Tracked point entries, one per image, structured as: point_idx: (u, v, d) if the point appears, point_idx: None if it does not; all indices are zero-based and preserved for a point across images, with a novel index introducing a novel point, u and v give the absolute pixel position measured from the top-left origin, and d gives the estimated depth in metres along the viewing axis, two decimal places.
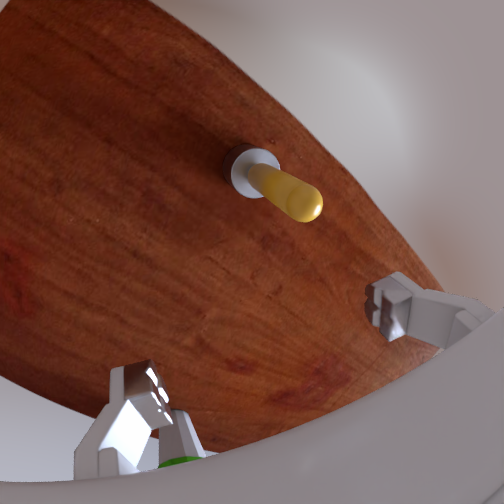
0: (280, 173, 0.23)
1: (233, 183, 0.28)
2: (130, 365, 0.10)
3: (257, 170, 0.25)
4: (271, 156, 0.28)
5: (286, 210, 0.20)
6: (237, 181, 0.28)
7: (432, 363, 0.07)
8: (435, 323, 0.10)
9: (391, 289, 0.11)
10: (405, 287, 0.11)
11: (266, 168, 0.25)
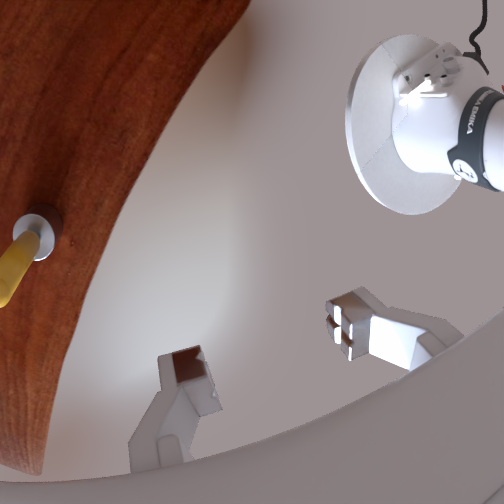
0: (22, 261, 0.20)
1: (19, 219, 0.24)
2: (178, 351, 0.10)
3: (27, 238, 0.22)
4: (51, 247, 0.26)
5: None
6: (21, 222, 0.24)
7: (432, 363, 0.07)
8: (398, 344, 0.09)
9: (351, 306, 0.10)
10: (367, 304, 0.10)
11: (29, 246, 0.22)
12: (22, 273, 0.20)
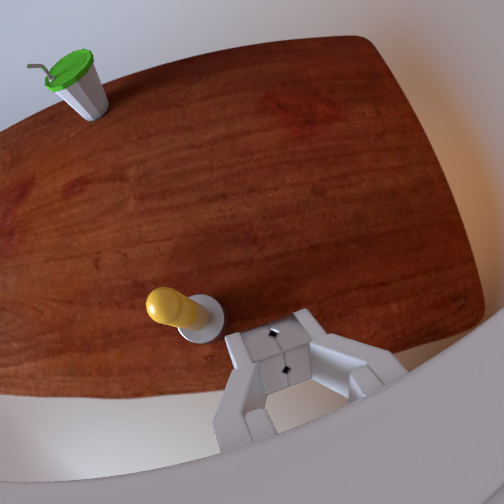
0: (193, 320, 0.23)
1: (207, 296, 0.30)
2: (246, 330, 0.10)
3: (205, 313, 0.27)
4: (202, 340, 0.29)
5: (171, 288, 0.21)
6: (206, 300, 0.30)
7: (432, 363, 0.07)
8: (338, 373, 0.09)
9: (288, 331, 0.10)
10: (305, 330, 0.10)
11: (202, 320, 0.26)
12: (184, 325, 0.23)
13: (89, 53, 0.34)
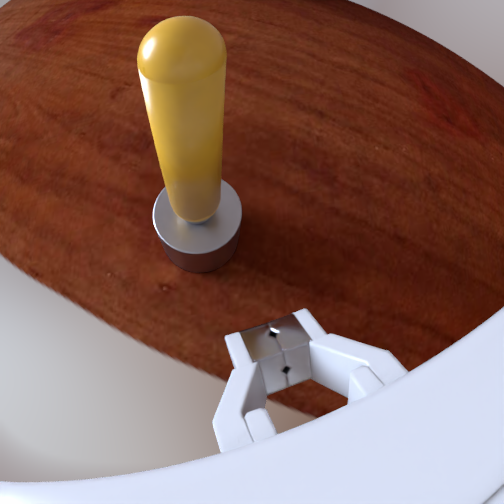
0: (200, 160, 0.10)
1: (231, 189, 0.17)
2: (246, 330, 0.10)
3: (217, 192, 0.14)
4: (176, 244, 0.16)
5: None
6: (226, 192, 0.17)
7: (432, 363, 0.07)
8: (338, 373, 0.09)
9: (288, 331, 0.10)
10: (305, 330, 0.10)
11: (207, 192, 0.13)
12: (177, 152, 0.10)
13: None
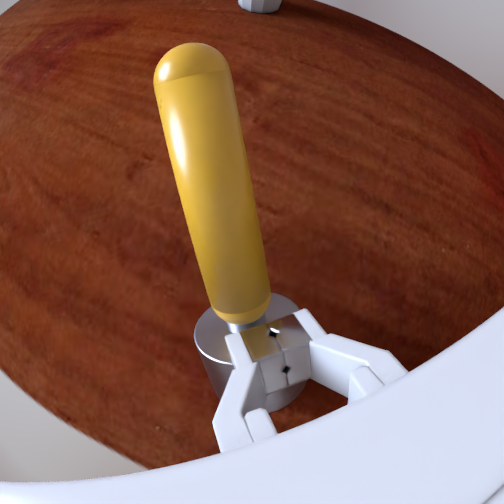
0: (226, 190, 0.09)
1: (287, 299, 0.14)
2: (246, 330, 0.10)
3: (262, 267, 0.11)
4: (221, 357, 0.12)
5: None
6: (281, 302, 0.14)
7: (432, 363, 0.07)
8: (338, 373, 0.09)
9: (288, 331, 0.10)
10: (305, 329, 0.10)
11: (246, 255, 0.11)
12: (197, 177, 0.09)
13: None
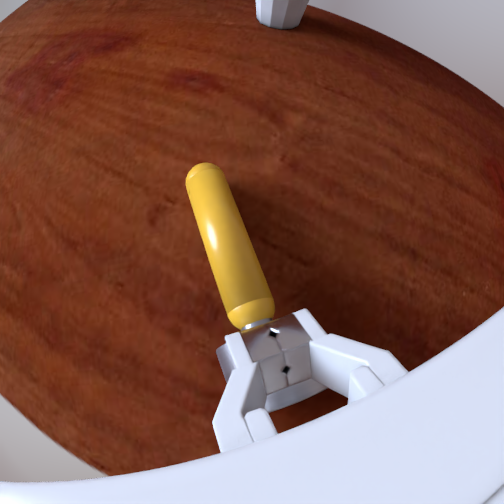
0: (224, 220, 0.17)
1: None
2: (246, 330, 0.10)
3: (258, 272, 0.16)
4: None
5: None
6: None
7: (432, 363, 0.07)
8: (338, 373, 0.09)
9: (288, 331, 0.10)
10: (305, 330, 0.10)
11: (243, 258, 0.16)
12: (208, 216, 0.17)
13: None
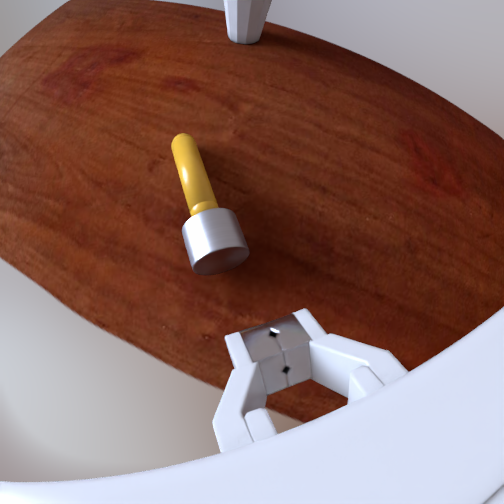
0: (191, 162, 0.28)
1: None
2: (246, 330, 0.10)
3: (208, 188, 0.27)
4: None
5: None
6: None
7: (432, 363, 0.07)
8: (338, 373, 0.09)
9: (288, 331, 0.10)
10: (305, 330, 0.10)
11: (200, 181, 0.27)
12: (182, 160, 0.28)
13: None
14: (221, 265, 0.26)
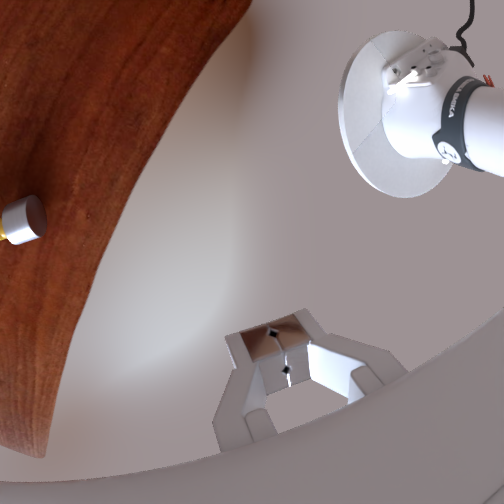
0: None
1: None
2: (246, 330, 0.10)
3: None
4: None
5: None
6: None
7: (432, 363, 0.07)
8: (338, 373, 0.09)
9: (288, 331, 0.10)
10: (305, 330, 0.10)
11: None
12: None
13: None
14: (39, 213, 0.29)
